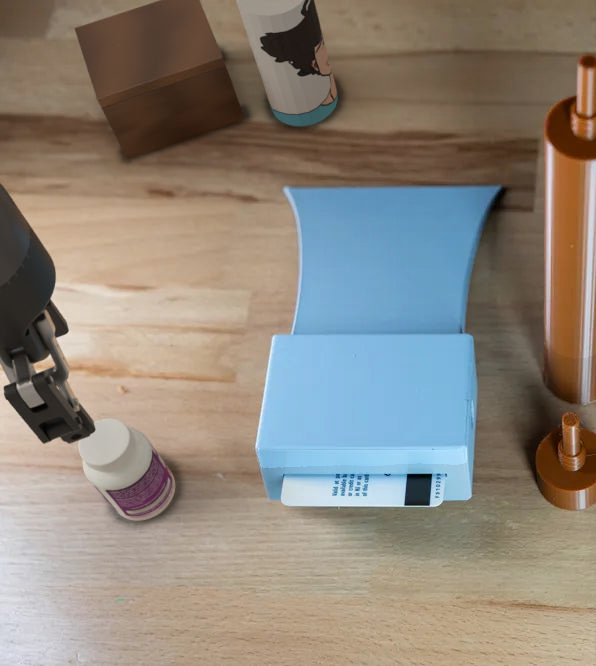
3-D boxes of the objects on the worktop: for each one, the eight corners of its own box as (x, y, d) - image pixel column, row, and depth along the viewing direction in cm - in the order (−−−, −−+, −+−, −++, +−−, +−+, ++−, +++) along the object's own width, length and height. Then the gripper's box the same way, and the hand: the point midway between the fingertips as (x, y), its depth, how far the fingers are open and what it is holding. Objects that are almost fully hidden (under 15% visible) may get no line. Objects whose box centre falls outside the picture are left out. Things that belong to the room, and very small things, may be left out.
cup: (346, 117, 117) (317, 3, 104) (280, 137, 116) (243, 24, 103) (329, 70, 120) (299, -46, 107) (265, 89, 119) (227, -26, 106)
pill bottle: (187, 471, 98) (151, 418, 89) (160, 529, 95) (121, 481, 87) (129, 455, 99) (88, 402, 90) (101, 513, 96) (56, 463, 88)
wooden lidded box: (128, 162, 115) (96, 99, 107) (106, 92, 120) (74, 27, 112) (246, 121, 117) (222, 57, 109) (218, 55, 122) (194, -12, 114)
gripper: (-120, 180, 70) (-5, 322, 84) (-86, 370, 63) (34, 491, 77) (4, 138, 71) (97, 285, 85) (52, 319, 64) (145, 448, 78)
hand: (67, 382), depth 81 cm, fingers open, 8 cm apart
